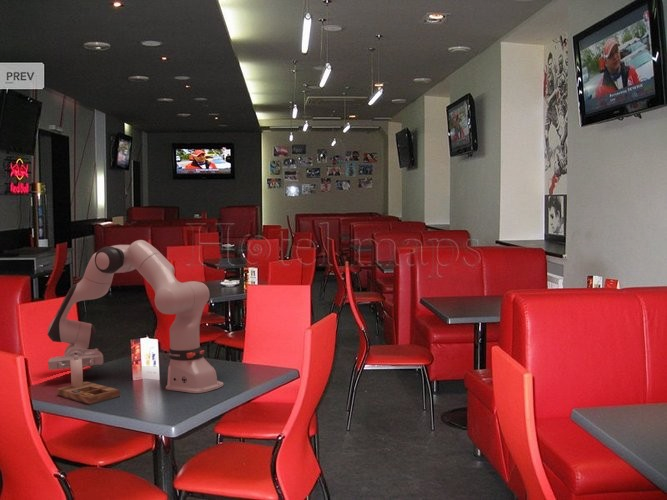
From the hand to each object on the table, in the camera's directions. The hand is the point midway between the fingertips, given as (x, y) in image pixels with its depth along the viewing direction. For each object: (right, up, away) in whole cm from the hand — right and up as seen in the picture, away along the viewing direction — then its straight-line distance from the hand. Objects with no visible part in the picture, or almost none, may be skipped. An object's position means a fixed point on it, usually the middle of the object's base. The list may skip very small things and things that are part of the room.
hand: (76, 365), depth 256 cm
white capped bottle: (+4, -6, -10) cm, 13 cm away
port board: (+10, -9, -14) cm, 19 cm away
